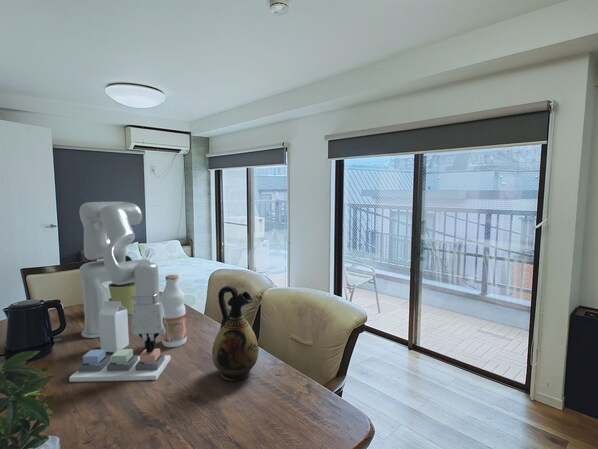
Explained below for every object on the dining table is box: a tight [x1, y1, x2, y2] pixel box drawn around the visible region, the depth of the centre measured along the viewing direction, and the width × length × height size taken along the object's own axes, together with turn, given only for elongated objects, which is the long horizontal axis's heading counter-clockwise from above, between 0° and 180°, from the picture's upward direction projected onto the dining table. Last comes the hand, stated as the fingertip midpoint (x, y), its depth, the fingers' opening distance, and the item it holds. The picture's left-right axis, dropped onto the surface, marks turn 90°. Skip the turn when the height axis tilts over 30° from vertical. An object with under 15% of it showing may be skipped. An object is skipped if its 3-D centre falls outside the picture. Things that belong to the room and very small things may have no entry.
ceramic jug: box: [211, 285, 260, 383], centre depth 116 cm, size 17×15×30 cm
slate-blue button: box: [82, 349, 107, 364], centre depth 120 cm, size 5×5×2 cm
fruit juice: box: [160, 274, 188, 348], centre depth 140 cm, size 9×9×28 cm
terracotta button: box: [139, 348, 161, 362], centre depth 120 cm, size 5×5×2 cm
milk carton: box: [99, 300, 130, 354], centre depth 136 cm, size 7×7×19 cm
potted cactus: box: [107, 254, 135, 316], centre depth 178 cm, size 15×15×30 cm
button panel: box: [68, 354, 172, 383], centre depth 120 cm, size 14×28×4 cm, turn 92°
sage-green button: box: [110, 348, 134, 363], centre depth 120 cm, size 5×5×2 cm
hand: (150, 350), depth 120 cm, fingers closed
